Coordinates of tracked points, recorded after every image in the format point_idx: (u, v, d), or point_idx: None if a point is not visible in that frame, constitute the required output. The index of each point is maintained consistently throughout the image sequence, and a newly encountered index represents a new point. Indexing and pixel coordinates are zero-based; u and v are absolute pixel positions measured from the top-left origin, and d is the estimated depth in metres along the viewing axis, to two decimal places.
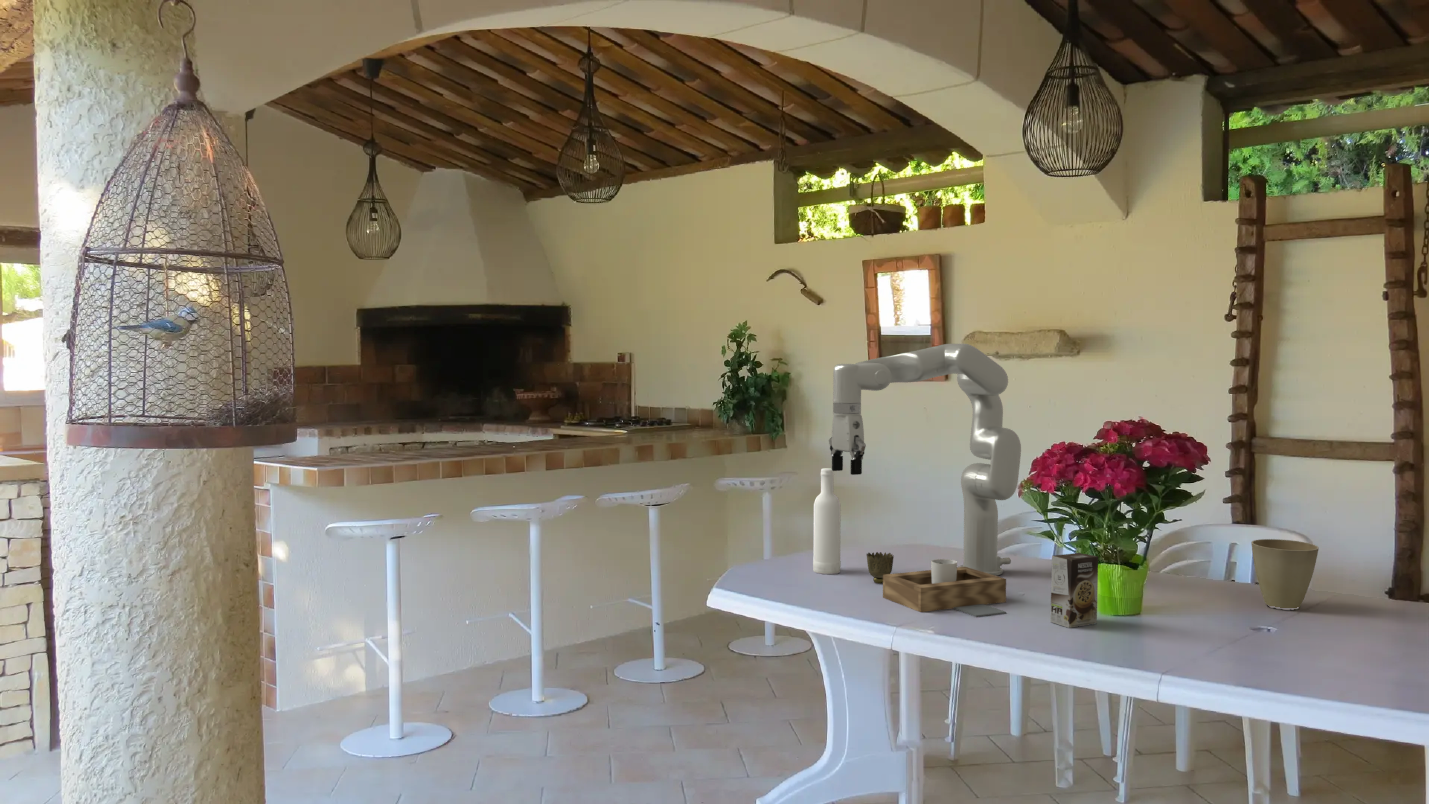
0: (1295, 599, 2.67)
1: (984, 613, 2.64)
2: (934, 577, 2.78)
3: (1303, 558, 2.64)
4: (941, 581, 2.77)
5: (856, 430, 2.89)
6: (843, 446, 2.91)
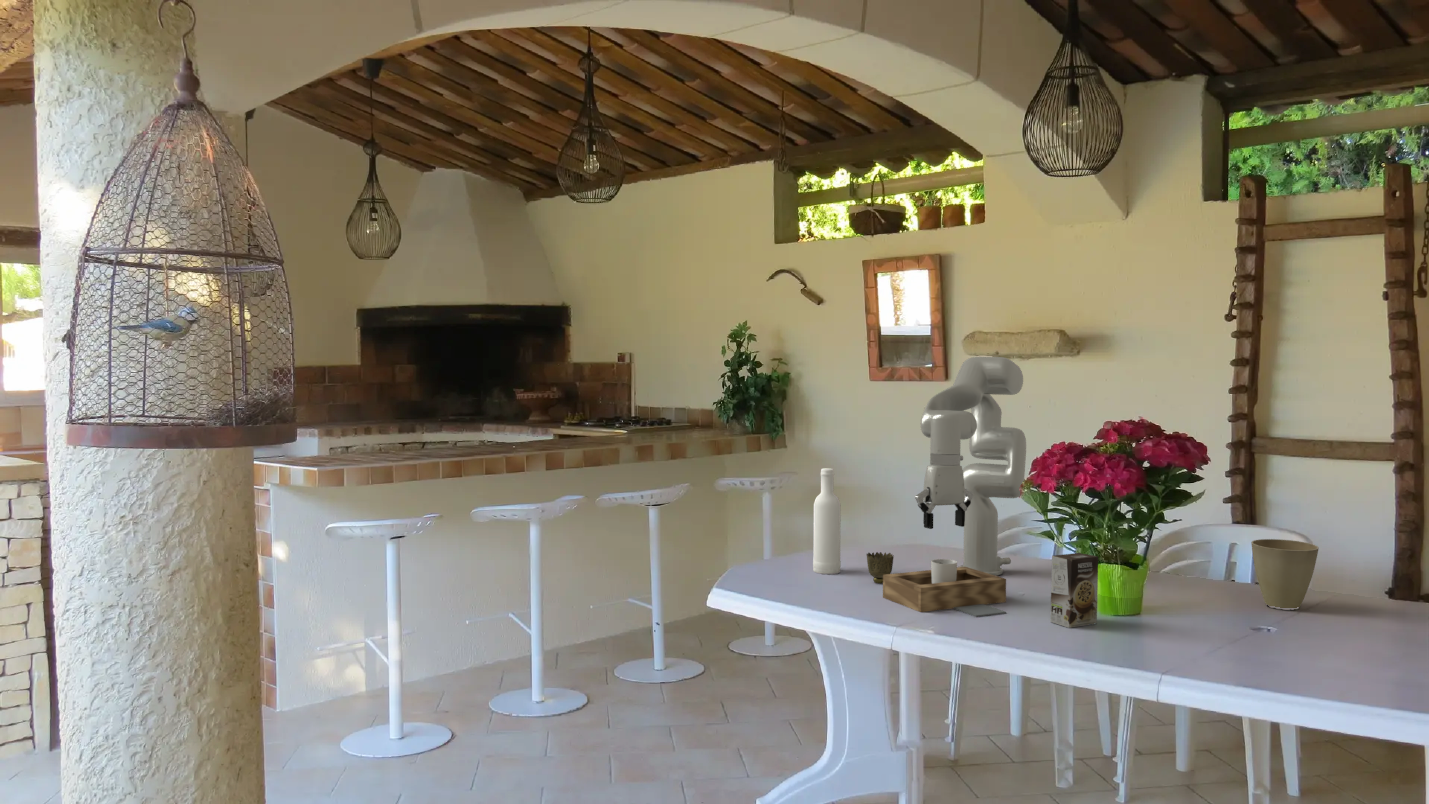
0: (1295, 599, 2.67)
1: (984, 613, 2.64)
2: (934, 577, 2.78)
3: (1303, 558, 2.64)
4: (941, 581, 2.77)
5: None
6: (955, 499, 2.77)
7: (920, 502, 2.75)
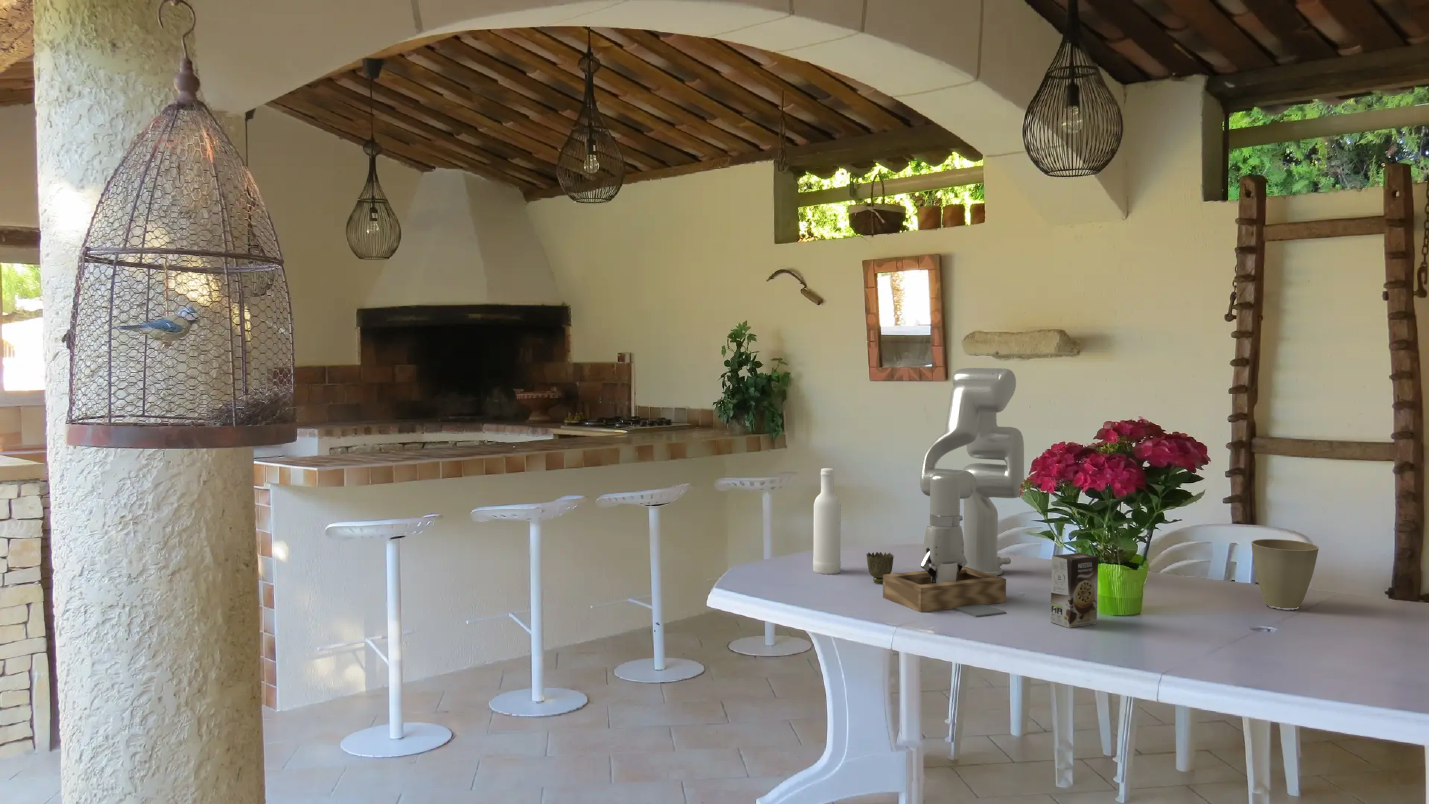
0: (1295, 599, 2.67)
1: (984, 613, 2.64)
2: None
3: (1303, 558, 2.64)
4: (941, 581, 2.77)
5: None
6: (955, 560, 2.78)
7: (927, 569, 2.77)
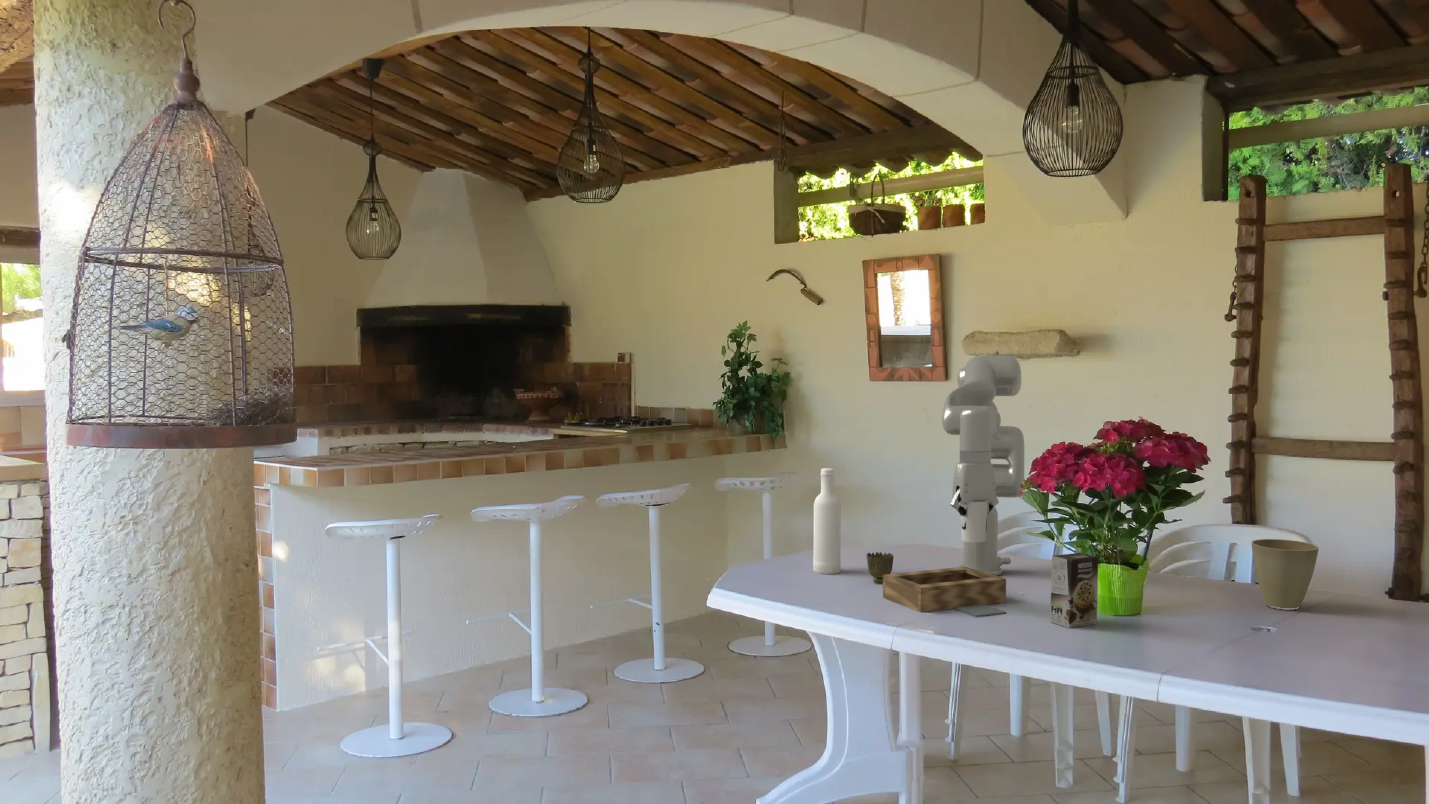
0: (1295, 599, 2.67)
1: (984, 613, 2.64)
2: (963, 516, 2.67)
3: (1303, 558, 2.64)
4: (971, 520, 2.66)
5: None
6: (986, 498, 2.67)
7: (957, 507, 2.66)
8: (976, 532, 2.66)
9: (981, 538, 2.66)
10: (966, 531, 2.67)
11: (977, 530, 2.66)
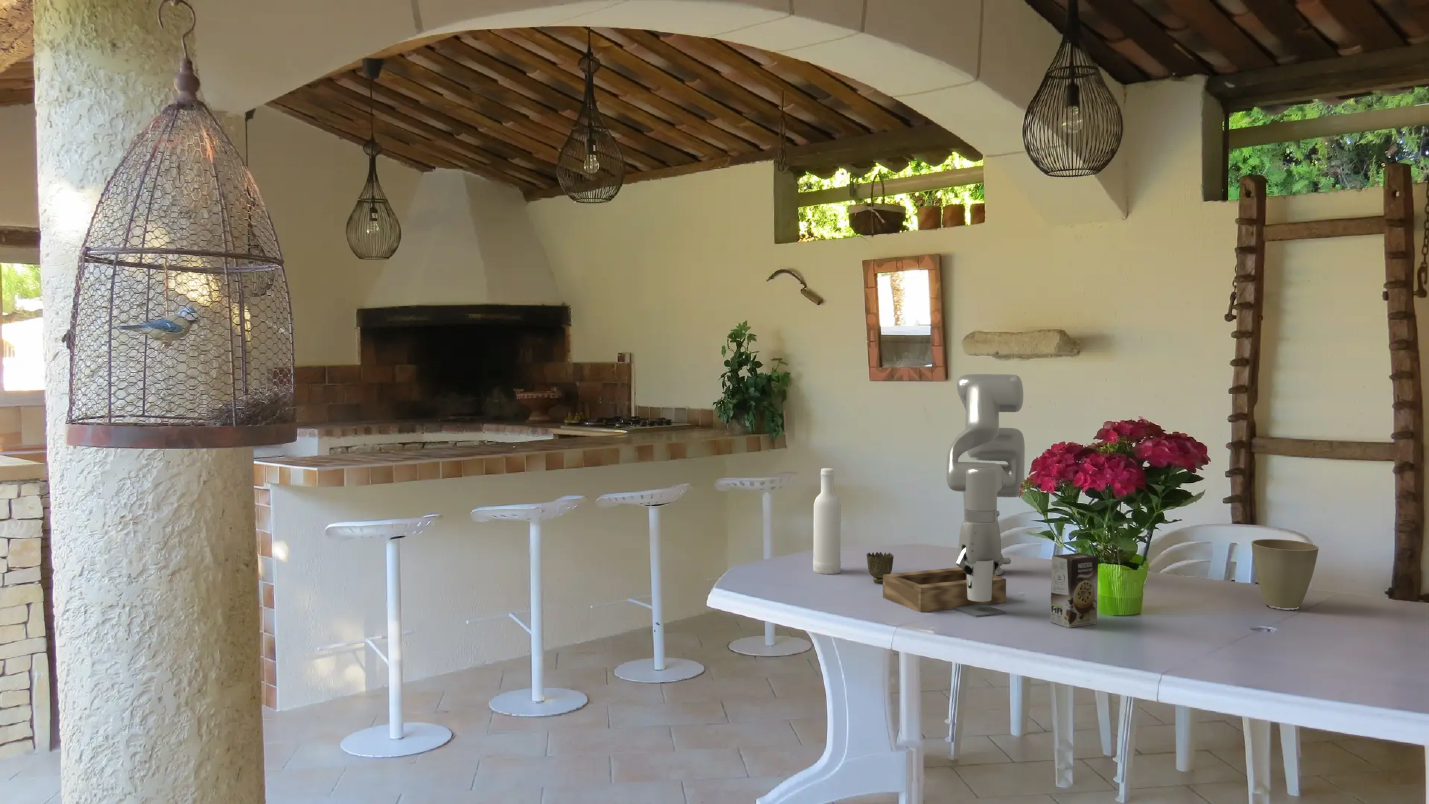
0: (1295, 599, 2.67)
1: (984, 613, 2.64)
2: (969, 575, 2.66)
3: (1303, 558, 2.64)
4: (977, 579, 2.64)
5: None
6: (992, 557, 2.66)
7: (963, 567, 2.65)
8: (982, 591, 2.64)
9: (987, 597, 2.65)
10: (972, 590, 2.65)
11: (983, 589, 2.64)
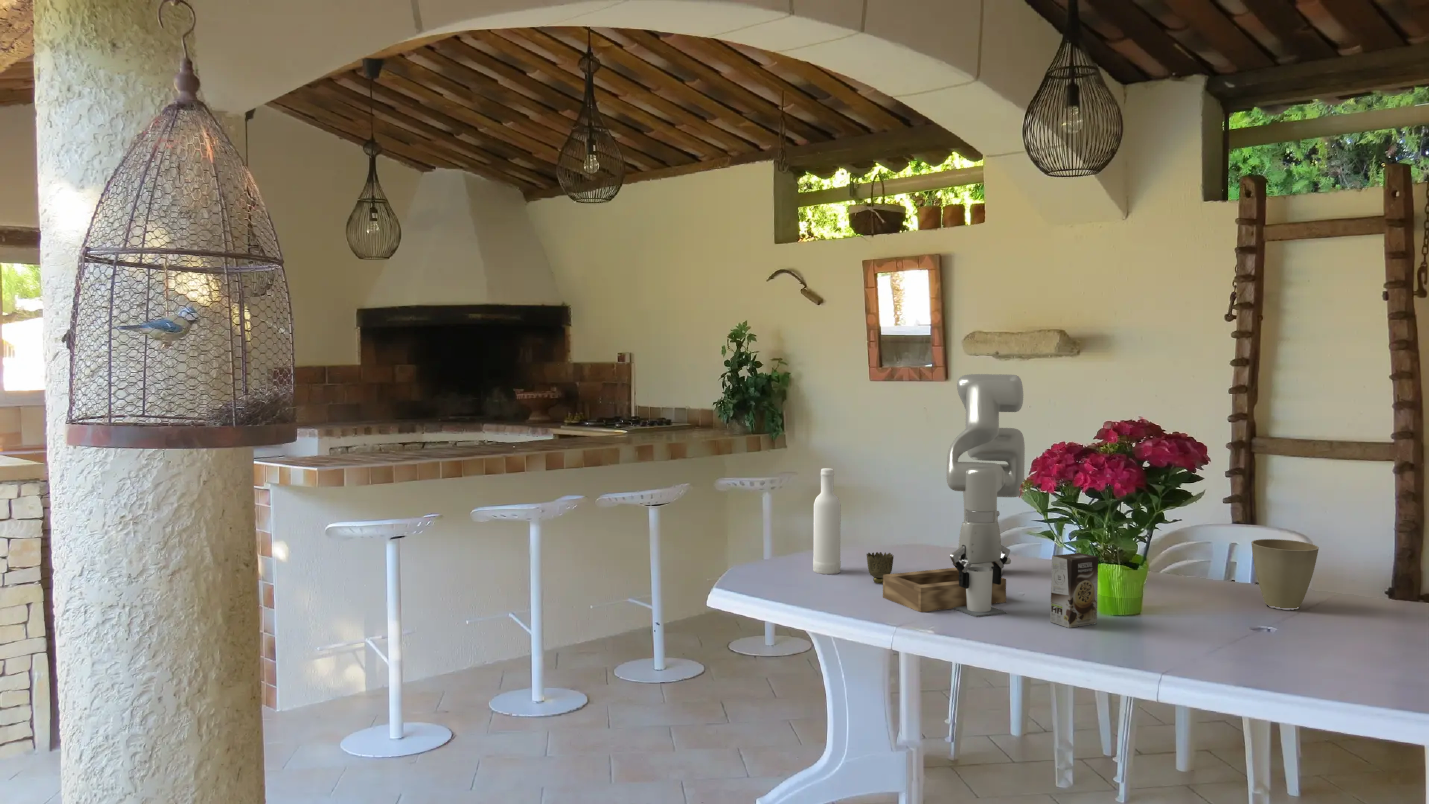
0: (1295, 599, 2.67)
1: (984, 613, 2.64)
2: None
3: (1303, 558, 2.64)
4: (975, 589, 2.65)
5: None
6: (992, 557, 2.66)
7: (955, 561, 2.64)
8: (981, 602, 2.65)
9: (986, 607, 2.65)
10: (971, 600, 2.66)
11: (982, 600, 2.65)
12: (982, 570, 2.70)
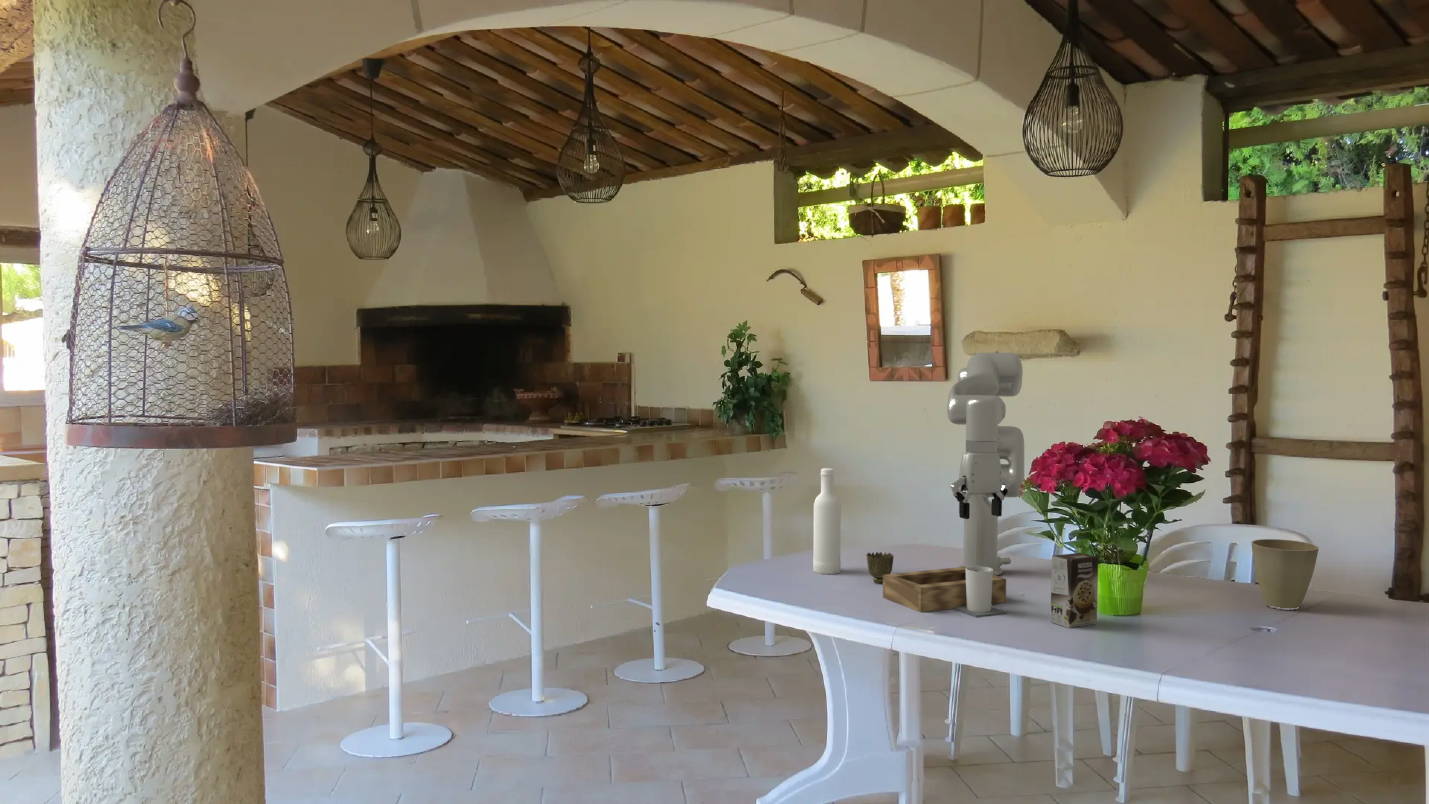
0: (1295, 599, 2.67)
1: (984, 613, 2.64)
2: (968, 585, 2.66)
3: (1303, 558, 2.64)
4: (976, 589, 2.65)
5: None
6: (992, 488, 2.66)
7: (956, 491, 2.63)
8: (981, 602, 2.65)
9: (986, 608, 2.65)
10: (971, 600, 2.66)
11: (982, 600, 2.65)
12: (982, 570, 2.70)
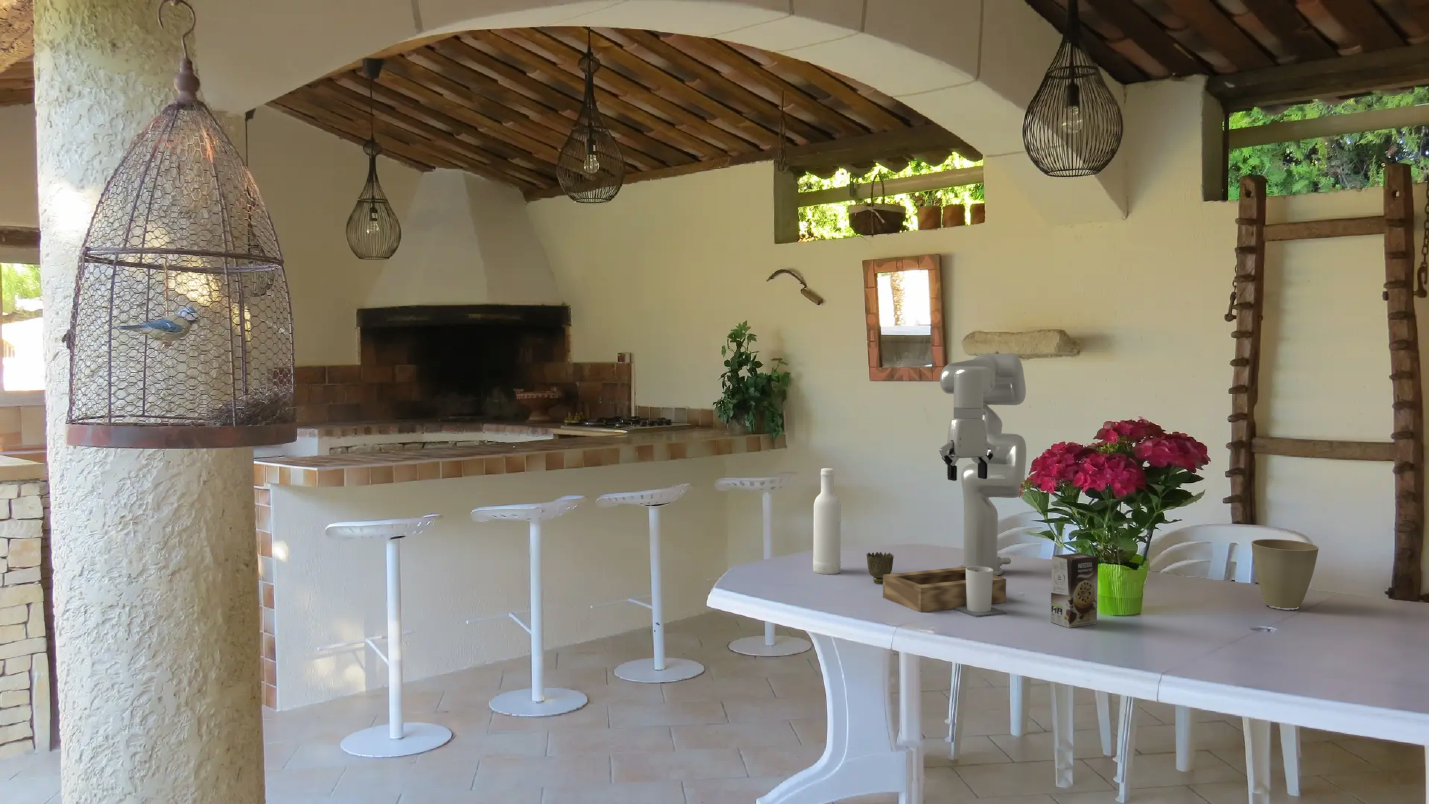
0: (1295, 599, 2.67)
1: (984, 613, 2.64)
2: (968, 585, 2.66)
3: (1303, 558, 2.64)
4: (976, 590, 2.65)
5: None
6: (978, 452, 2.84)
7: (944, 455, 2.82)
8: (981, 602, 2.65)
9: (986, 608, 2.65)
10: (971, 600, 2.66)
11: (982, 600, 2.65)
12: (982, 570, 2.70)
